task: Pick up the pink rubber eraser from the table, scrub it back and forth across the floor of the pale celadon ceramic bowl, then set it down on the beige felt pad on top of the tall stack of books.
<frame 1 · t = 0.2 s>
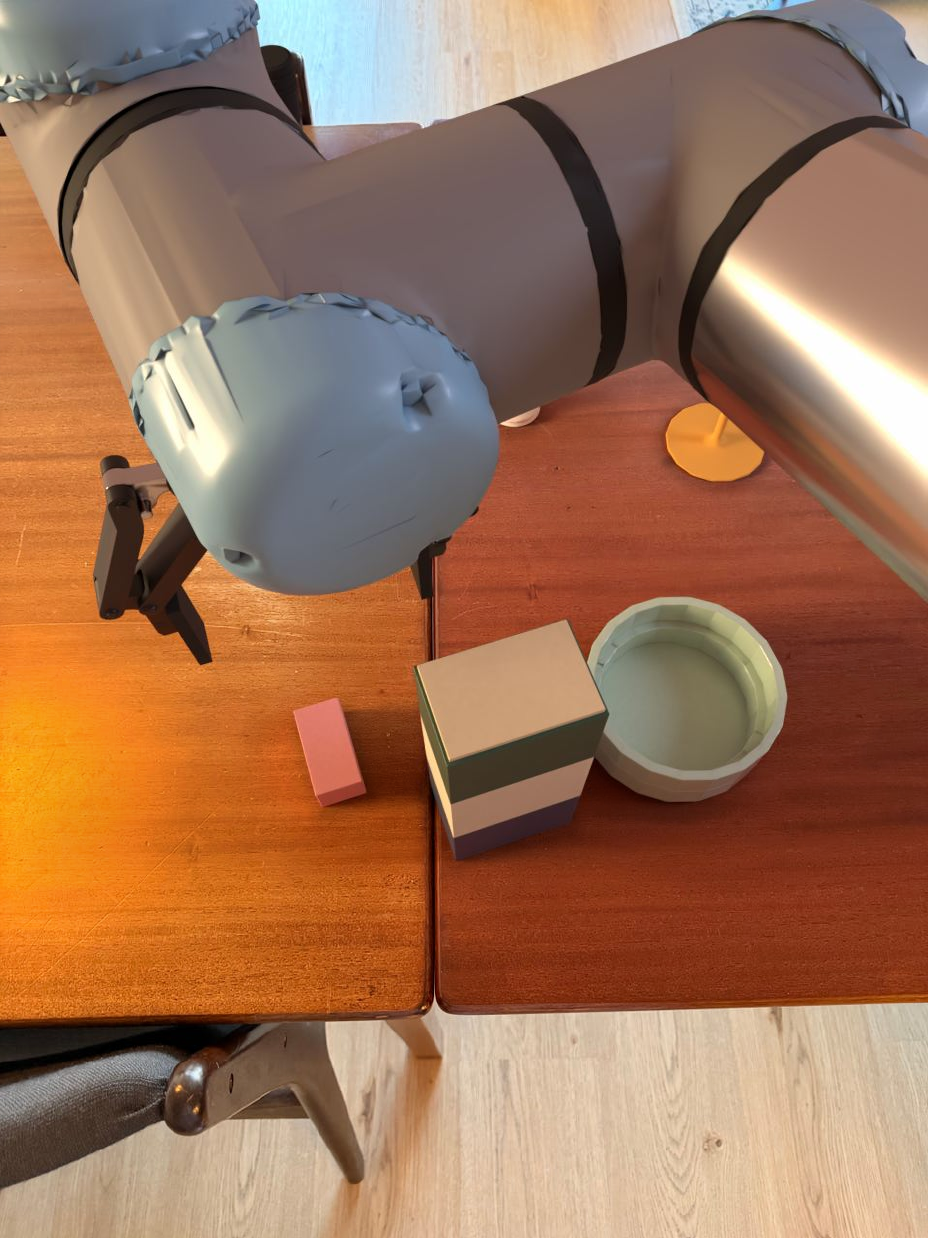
hand: (313, 611, 54), 18 cm above the table, tool pointing down, fingers open, 13 cm apart
chess piece: (513, 407, 85), on the table
felt pad: (509, 689, 48), resting on book stack
pitcher: (175, 229, 97), on the table
cup: (714, 443, 83), on the table
bowl: (669, 713, 71), on the table
wine bottle: (333, 371, 88), on the table
book stack: (500, 803, 68), on the table
eraser: (332, 758, 69), on the table
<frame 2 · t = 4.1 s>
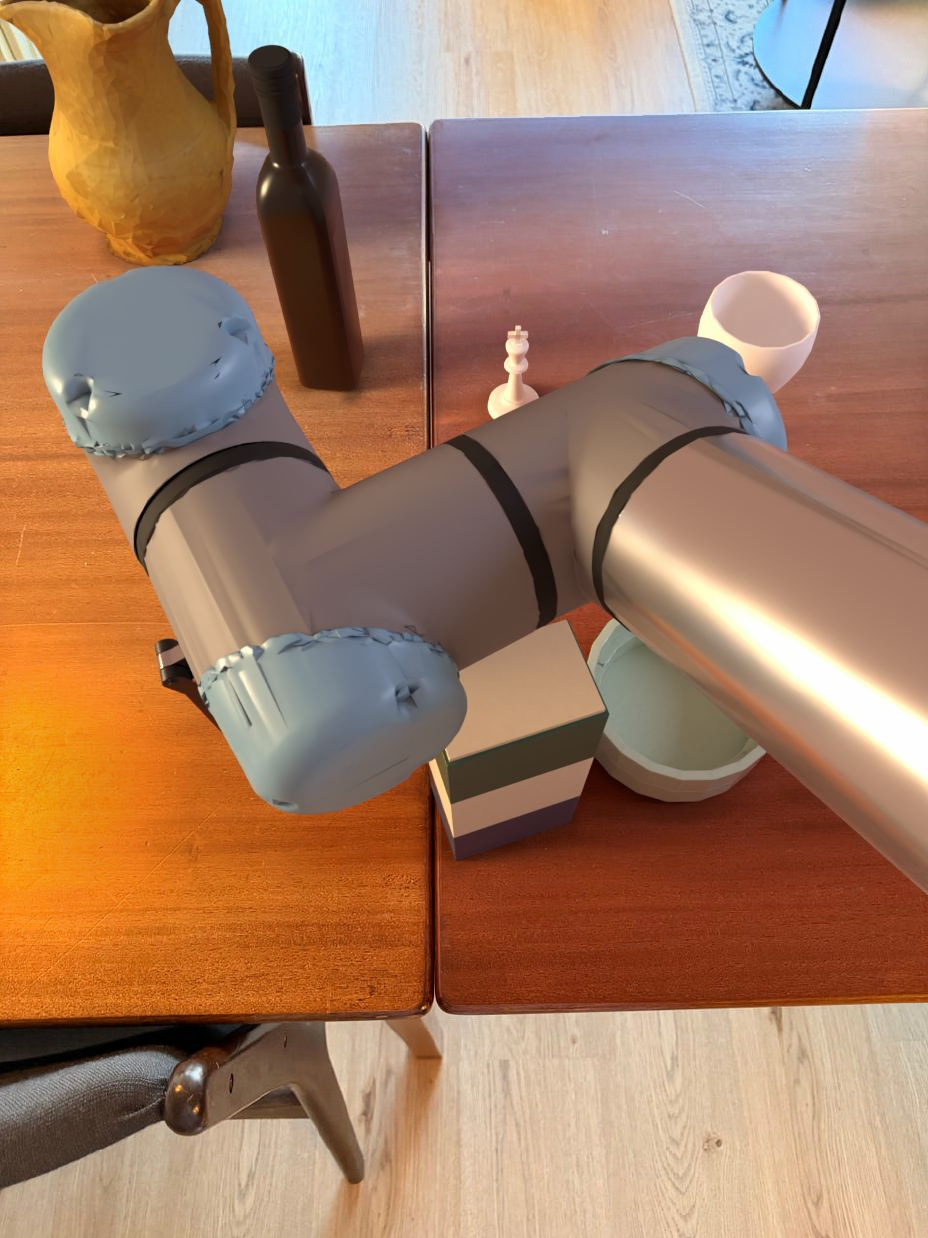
hand: (323, 735, 64), 6 cm above the table, tool pointing down, fingers closed on eraser, 3 cm apart
eraser: (323, 737, 65), point 5 cm above the table, touching gripper
everything else where it was.
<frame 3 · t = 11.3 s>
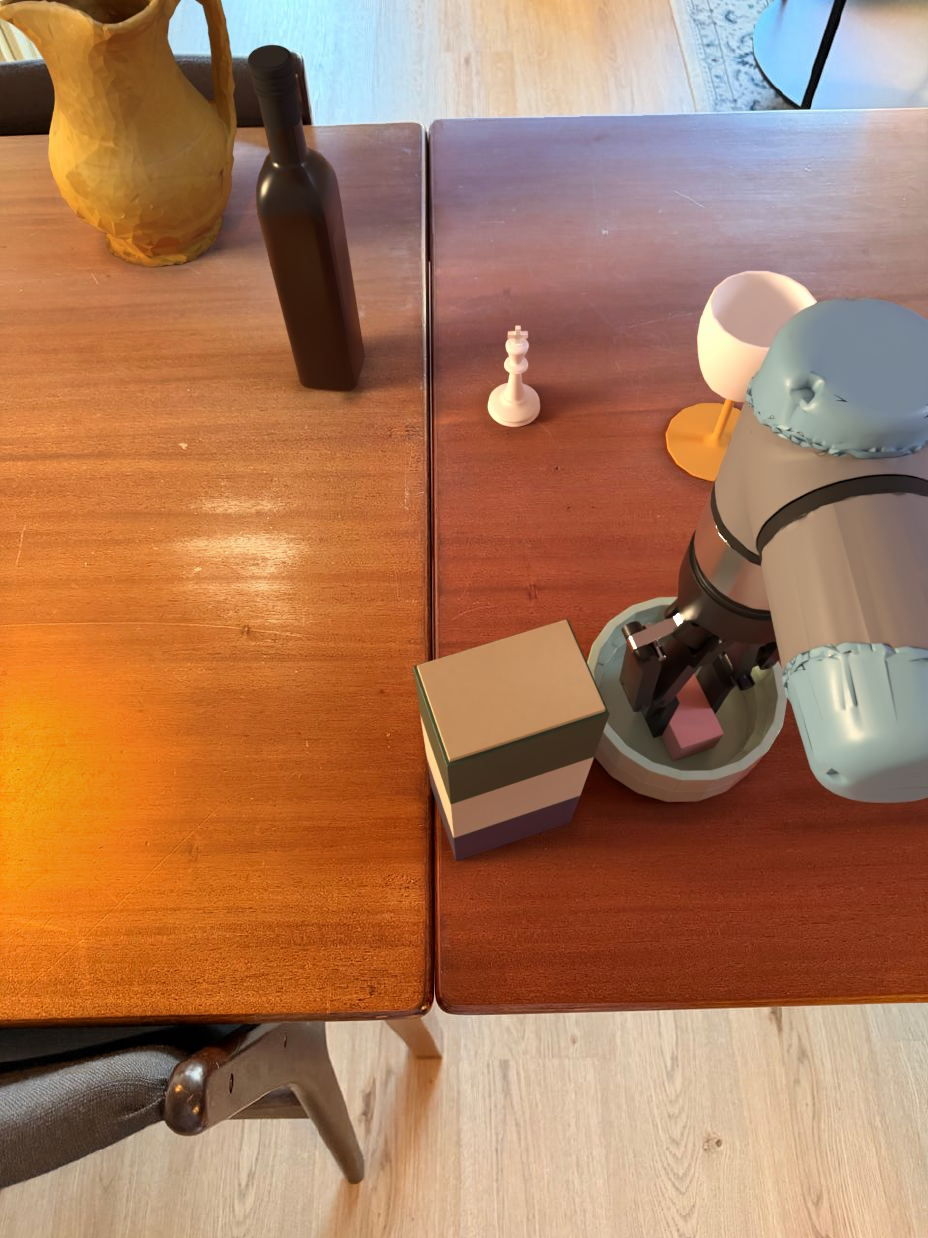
hand: (675, 712, 69), 1 cm above the table, tool pointing down, fingers closed on eraser, 3 cm apart
eraser: (674, 713, 70), point 1 cm above the table, touching gripper
everything else where it was.
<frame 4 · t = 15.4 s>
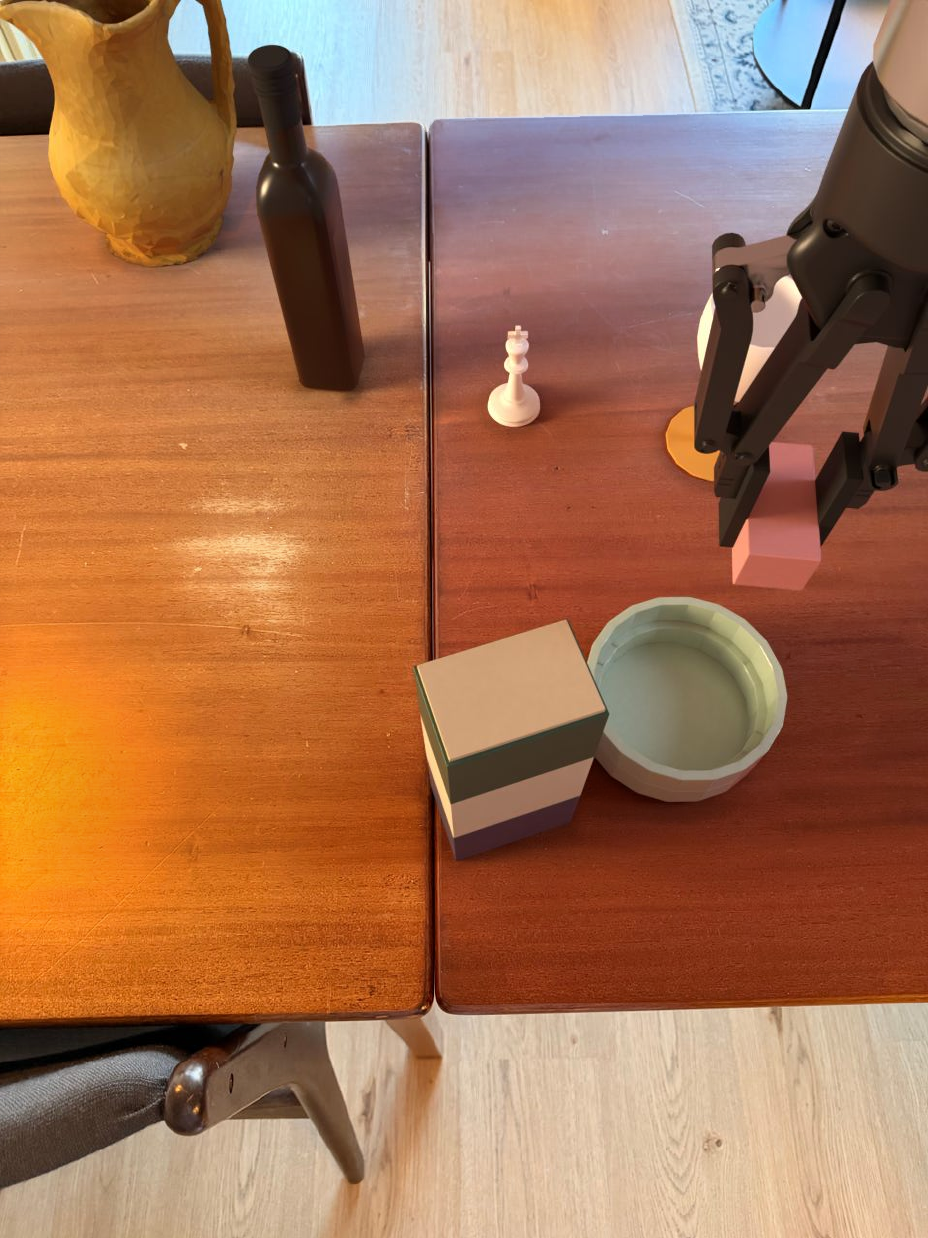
hand: (766, 528, 47), 27 cm above the table, tool pointing down, fingers closed on eraser, 3 cm apart
eraser: (764, 530, 47), point 26 cm above the table, touching gripper
everything else where it was.
when the fingers open (23 cm above the table, at t = 18.8 s): eraser stays where it is, resting on felt pad.
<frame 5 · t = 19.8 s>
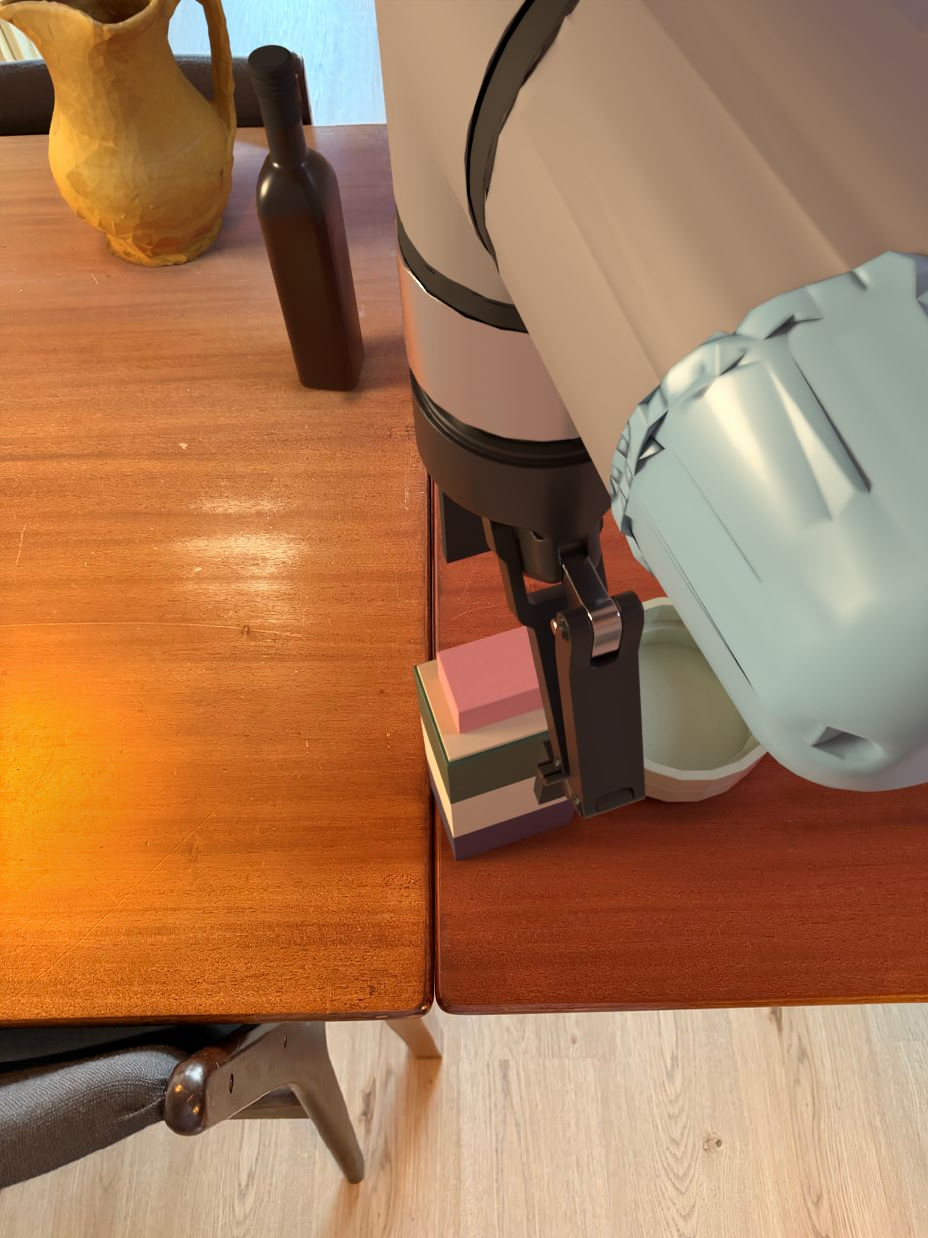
hand: (513, 662, 45), 26 cm above the table, tool pointing down, fingers open, 13 cm apart
eraser: (511, 685, 48), point 22 cm above the table, touching felt pad
everything else where it was.
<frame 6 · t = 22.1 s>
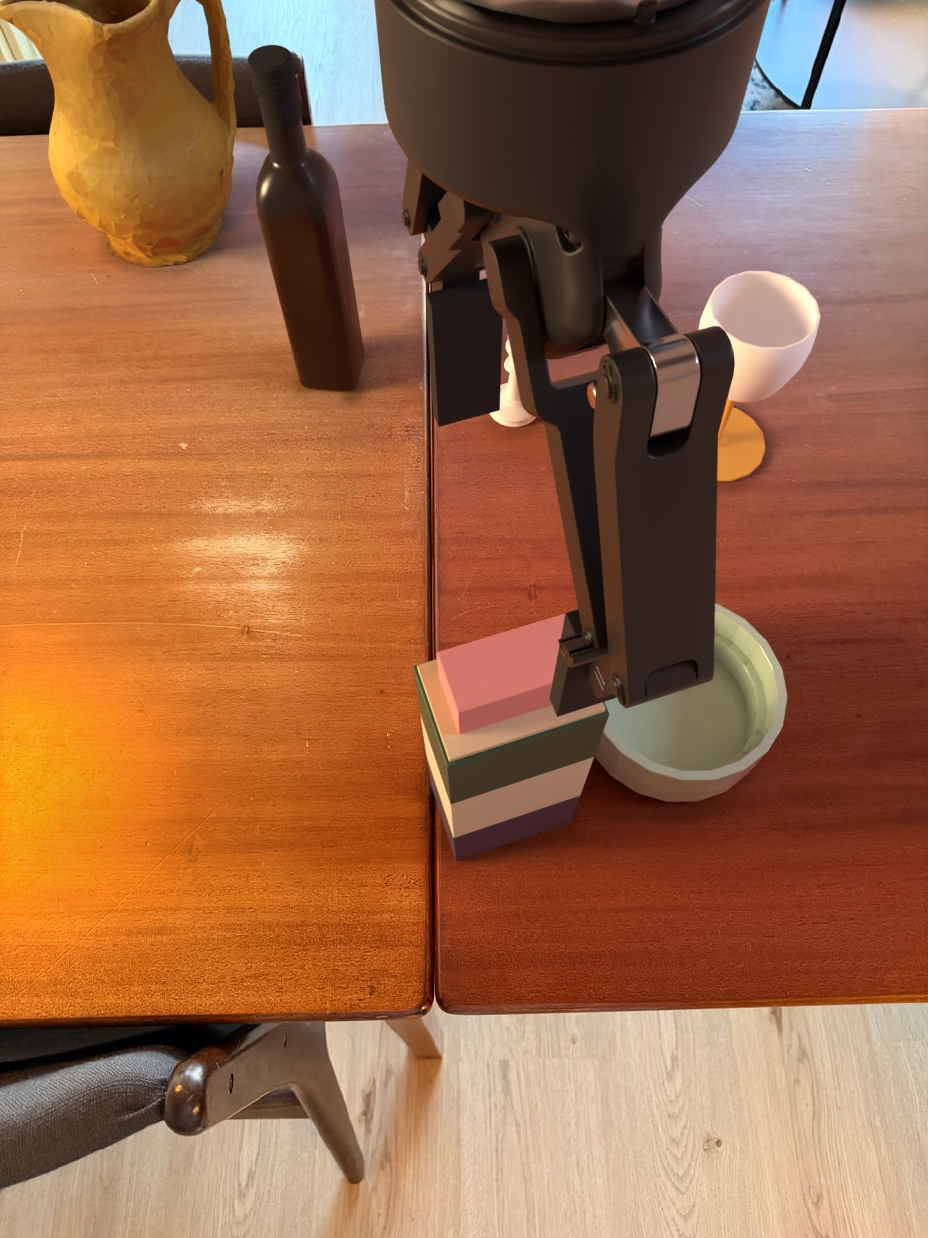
hand: (522, 542, 35), 37 cm above the table, tool pointing down, fingers open, 13 cm apart
nothing on the table moved.
at the end: eraser inside the target area on the felt pad (0.1 cm from its centre), point 0.4 cm above the felt pad's base; the gripper is holding nothing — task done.
